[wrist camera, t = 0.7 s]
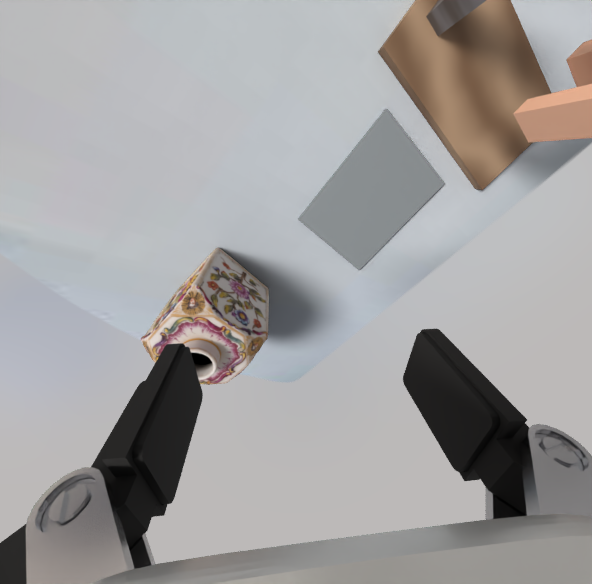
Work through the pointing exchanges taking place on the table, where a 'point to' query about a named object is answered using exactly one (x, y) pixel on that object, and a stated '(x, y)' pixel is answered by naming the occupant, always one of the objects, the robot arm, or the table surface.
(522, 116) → the link
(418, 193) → the mat
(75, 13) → the table surface
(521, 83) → the stand
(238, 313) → the decorative jar
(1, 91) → the table surface
